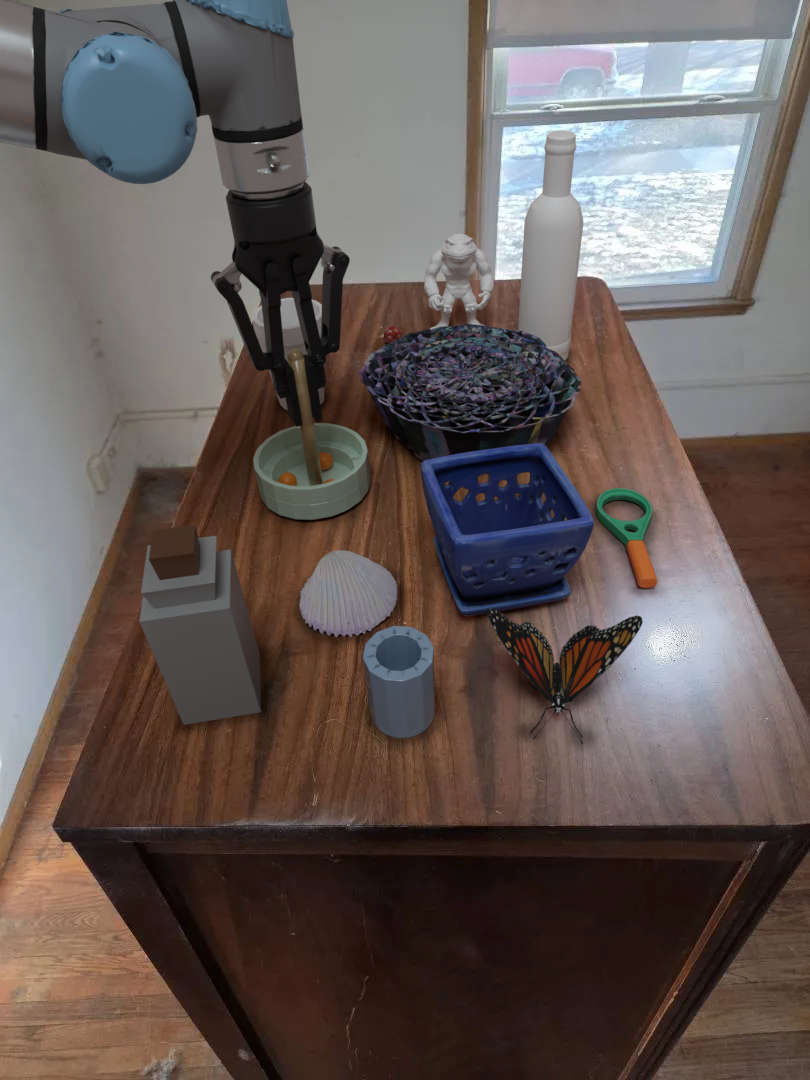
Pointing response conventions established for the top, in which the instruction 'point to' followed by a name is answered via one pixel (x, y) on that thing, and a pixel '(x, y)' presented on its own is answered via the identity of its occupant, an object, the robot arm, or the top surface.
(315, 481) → the stick
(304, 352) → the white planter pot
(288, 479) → the bead
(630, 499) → the magnifying glass
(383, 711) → the holder
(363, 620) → the seashell
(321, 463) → the bead
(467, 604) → the flower pot
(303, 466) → the bowl
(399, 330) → the die
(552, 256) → the bottle
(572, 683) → the butterfly
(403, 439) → the decorative bowl
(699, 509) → the top surface
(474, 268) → the figurine
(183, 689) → the perfume bottle
